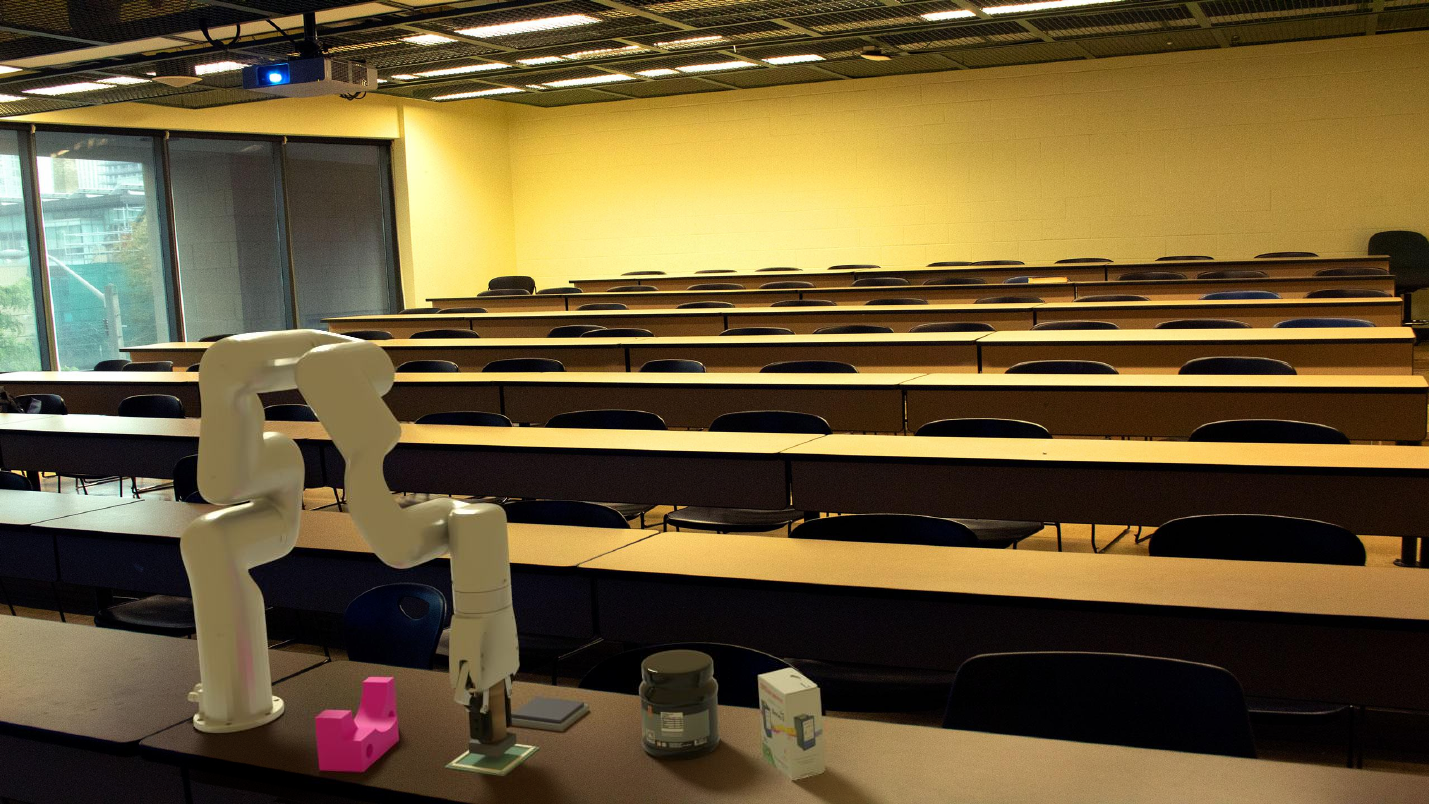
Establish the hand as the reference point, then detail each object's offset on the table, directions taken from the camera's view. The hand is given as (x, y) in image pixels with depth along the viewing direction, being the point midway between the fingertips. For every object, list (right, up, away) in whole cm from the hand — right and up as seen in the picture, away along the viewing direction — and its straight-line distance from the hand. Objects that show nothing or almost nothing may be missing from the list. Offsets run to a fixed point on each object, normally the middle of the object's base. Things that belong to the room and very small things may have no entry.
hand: (491, 731), depth 150 cm
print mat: (0, -4, 0) cm, 4 cm away
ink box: (+40, -3, -6) cm, 40 cm away
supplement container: (+25, -3, +2) cm, 25 cm away
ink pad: (+6, -2, +14) cm, 15 cm away
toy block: (-18, -4, +6) cm, 20 cm away
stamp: (0, -2, 0) cm, 2 cm away
